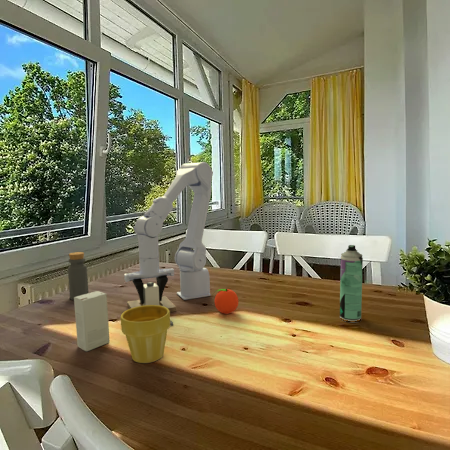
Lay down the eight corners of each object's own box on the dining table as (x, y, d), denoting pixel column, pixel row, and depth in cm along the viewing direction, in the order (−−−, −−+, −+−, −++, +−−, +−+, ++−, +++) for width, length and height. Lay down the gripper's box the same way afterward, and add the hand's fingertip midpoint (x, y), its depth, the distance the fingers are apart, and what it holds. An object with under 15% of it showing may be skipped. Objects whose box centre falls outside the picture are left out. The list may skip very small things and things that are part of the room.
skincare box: (100, 338, 86) (97, 289, 85) (110, 343, 83) (108, 293, 82) (76, 347, 81) (72, 296, 80) (86, 353, 79) (82, 300, 77)
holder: (165, 299, 115) (165, 295, 115) (176, 310, 104) (176, 306, 104) (127, 305, 110) (127, 301, 110) (135, 318, 99) (134, 313, 99)
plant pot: (112, 363, 74) (109, 318, 73) (140, 342, 83) (139, 302, 82) (155, 372, 70) (153, 324, 69) (180, 349, 80) (178, 307, 78)
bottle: (82, 300, 115) (79, 255, 114) (66, 299, 117) (62, 254, 115) (92, 295, 121) (89, 251, 119) (76, 294, 122) (74, 251, 121)
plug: (156, 305, 110) (155, 280, 109) (159, 309, 106) (158, 283, 105) (143, 307, 108) (142, 282, 107) (146, 311, 104) (145, 285, 103)
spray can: (360, 316, 97) (362, 244, 95) (361, 323, 92) (363, 247, 90) (339, 314, 99) (341, 243, 97) (339, 321, 94) (340, 246, 92)
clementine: (207, 315, 100) (206, 290, 99) (216, 307, 107) (215, 284, 106) (234, 318, 97) (233, 293, 97) (241, 310, 104) (241, 286, 103)
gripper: (169, 252, 112) (170, 294, 113) (121, 257, 106) (124, 301, 107) (175, 256, 106) (177, 300, 107) (125, 261, 99) (128, 308, 101)
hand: (150, 301), depth 107 cm, fingers open, 5 cm apart
